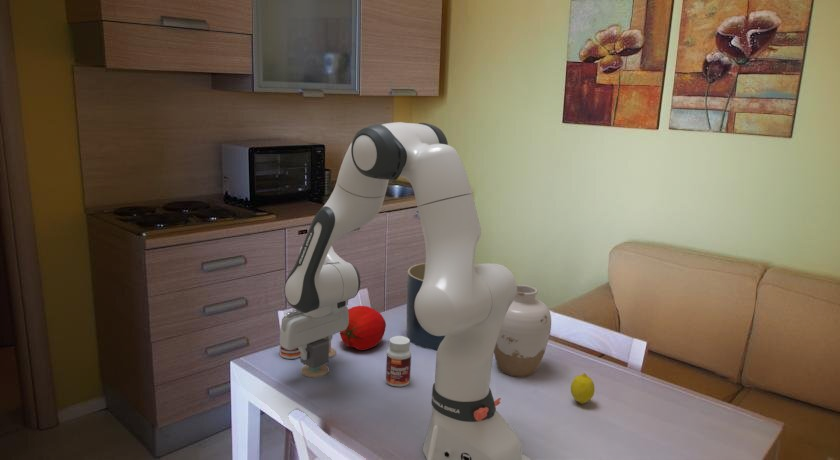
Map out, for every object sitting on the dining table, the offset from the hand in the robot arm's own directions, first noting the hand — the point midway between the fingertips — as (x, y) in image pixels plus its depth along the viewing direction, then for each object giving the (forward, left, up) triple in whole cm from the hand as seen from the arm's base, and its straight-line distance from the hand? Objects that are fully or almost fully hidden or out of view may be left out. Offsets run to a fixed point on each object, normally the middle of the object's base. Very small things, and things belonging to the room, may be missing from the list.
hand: (315, 354), depth 156 cm
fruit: (-58, -34, -5) cm, 67 cm away
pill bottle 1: (+12, -2, -5) cm, 13 cm away
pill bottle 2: (-19, -11, -5) cm, 22 cm away
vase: (-37, -39, -5) cm, 54 cm away
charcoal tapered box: (0, 0, -2) cm, 2 cm away
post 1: (0, 0, -5) cm, 5 cm away
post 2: (+6, -9, -5) cm, 12 cm away
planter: (-9, -42, -5) cm, 43 cm away
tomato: (+3, -20, -5) cm, 21 cm away
